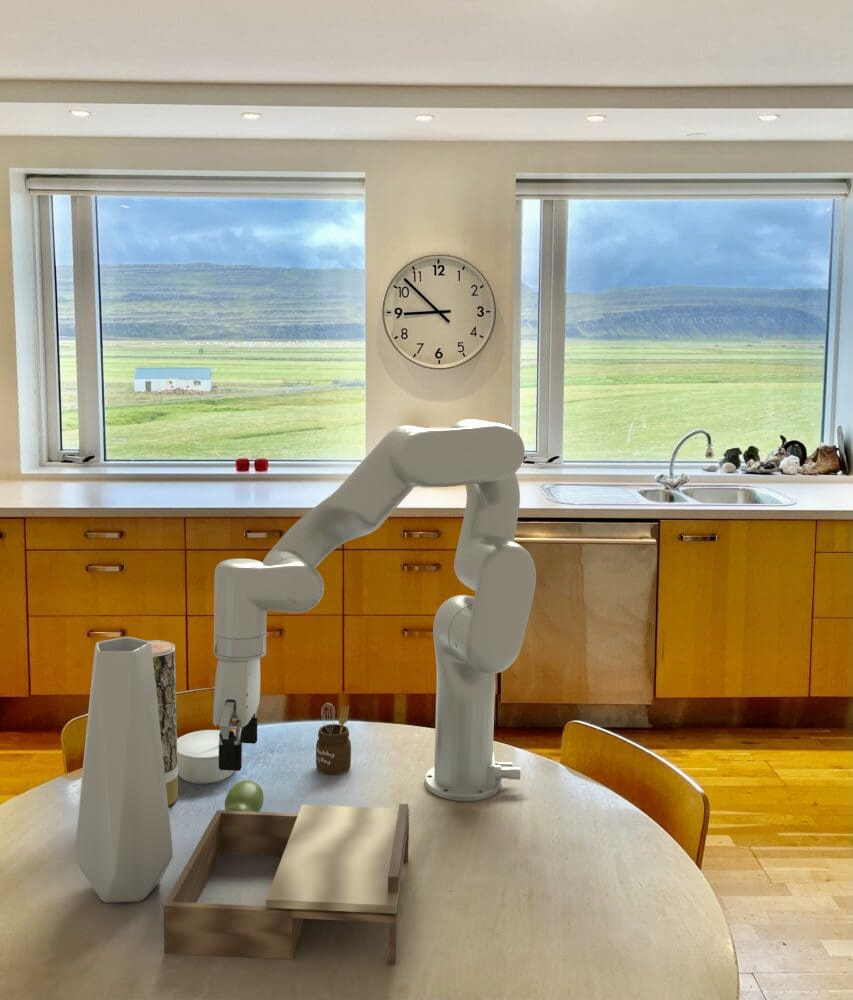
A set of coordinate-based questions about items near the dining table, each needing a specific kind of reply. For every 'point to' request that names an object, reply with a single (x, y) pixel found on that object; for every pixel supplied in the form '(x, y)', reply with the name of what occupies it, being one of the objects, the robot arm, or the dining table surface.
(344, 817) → the lid
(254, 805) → the pear
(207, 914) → the wooden box
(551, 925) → the dining table surface
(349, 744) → the utensil holder
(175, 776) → the paper tube
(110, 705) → the vase
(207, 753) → the ramekin
